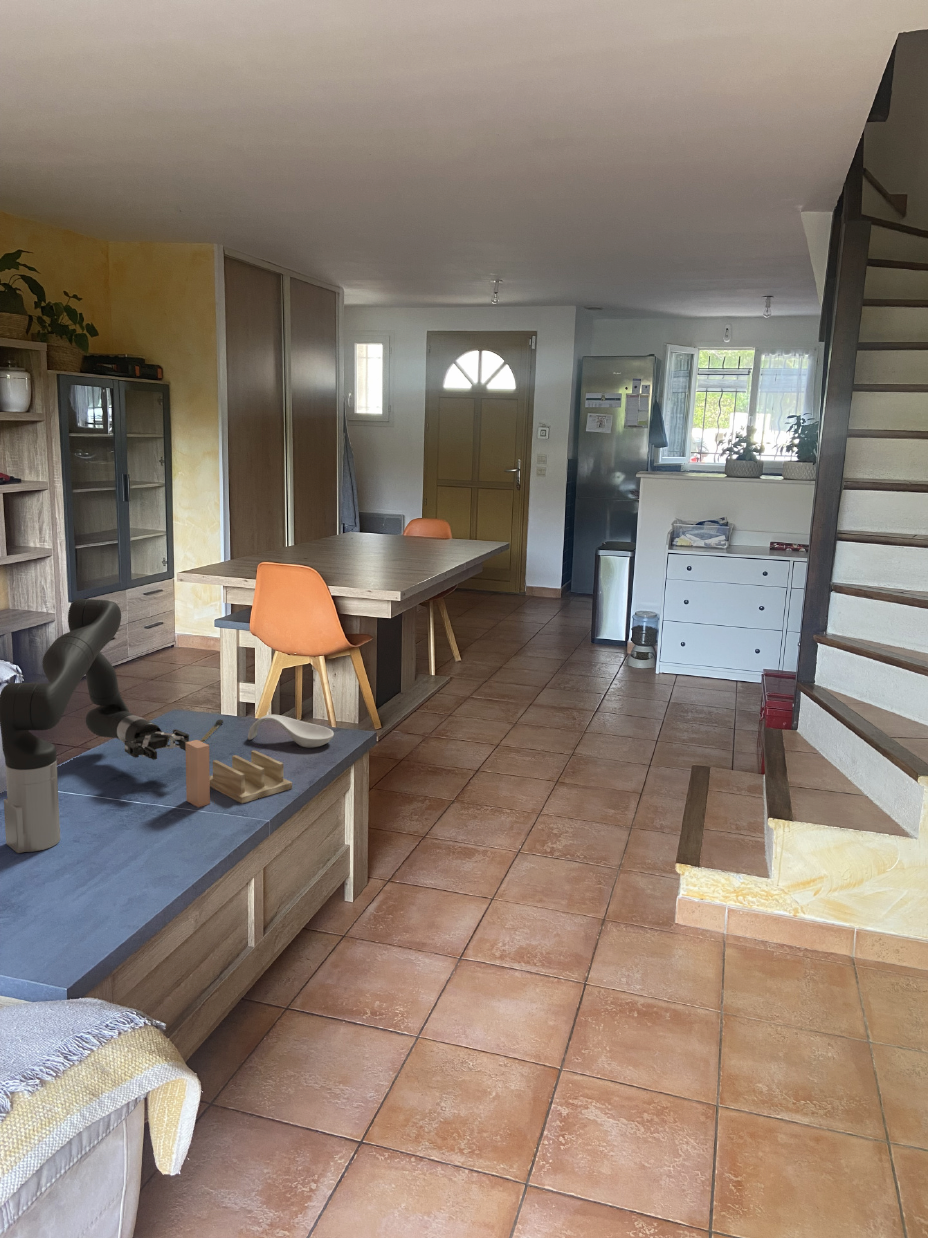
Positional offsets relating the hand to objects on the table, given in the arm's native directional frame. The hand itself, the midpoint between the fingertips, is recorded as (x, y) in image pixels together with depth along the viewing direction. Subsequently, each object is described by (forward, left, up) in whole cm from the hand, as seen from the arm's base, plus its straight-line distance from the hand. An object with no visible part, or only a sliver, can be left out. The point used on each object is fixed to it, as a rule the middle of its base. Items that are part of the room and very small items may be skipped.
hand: (172, 751), depth 212 cm
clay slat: (0, -11, -9) cm, 14 cm away
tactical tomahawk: (+28, +28, -10) cm, 41 cm away
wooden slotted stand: (+14, -10, -9) cm, 19 cm away
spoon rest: (+41, +9, -10) cm, 43 cm away
